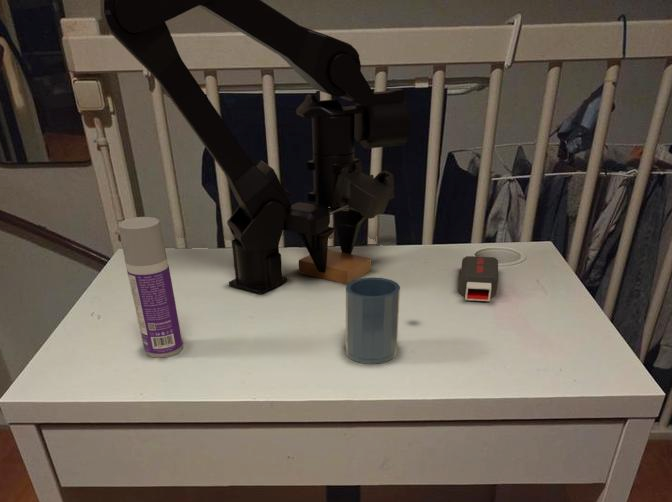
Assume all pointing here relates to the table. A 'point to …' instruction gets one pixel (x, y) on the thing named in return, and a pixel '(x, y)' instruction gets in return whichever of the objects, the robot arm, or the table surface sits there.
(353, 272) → the wooden block
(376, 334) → the cup
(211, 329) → the table surface
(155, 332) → the container
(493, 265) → the usb drive
